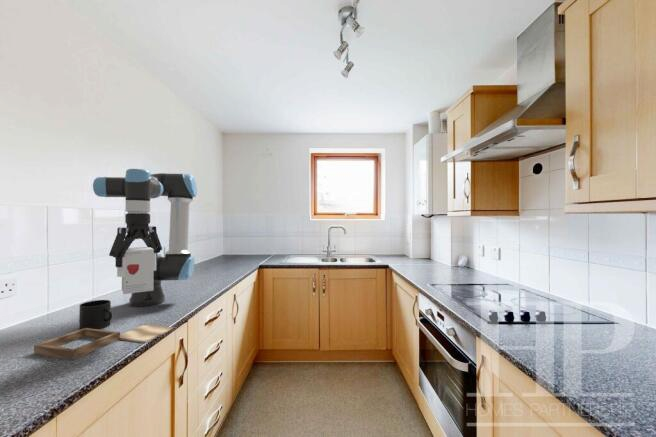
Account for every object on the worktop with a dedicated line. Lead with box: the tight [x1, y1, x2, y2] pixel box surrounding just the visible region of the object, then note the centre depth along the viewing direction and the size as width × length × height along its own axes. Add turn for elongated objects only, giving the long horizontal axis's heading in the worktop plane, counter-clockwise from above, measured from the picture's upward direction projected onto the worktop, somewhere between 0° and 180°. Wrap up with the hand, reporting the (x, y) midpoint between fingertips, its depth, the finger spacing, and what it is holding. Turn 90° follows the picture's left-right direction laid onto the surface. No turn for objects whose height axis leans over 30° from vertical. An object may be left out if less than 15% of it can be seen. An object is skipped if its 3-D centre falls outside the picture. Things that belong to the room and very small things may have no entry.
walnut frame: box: [33, 328, 121, 361], centre depth 98 cm, size 15×15×2 cm
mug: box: [78, 299, 113, 330], centre depth 115 cm, size 9×12×9 cm
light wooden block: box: [118, 323, 175, 344], centre depth 109 cm, size 13×13×1 cm
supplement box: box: [121, 246, 154, 295], centre depth 107 cm, size 9×9×15 cm
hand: (137, 273), depth 107 cm, fingers closed on supplement box, 12 cm apart
